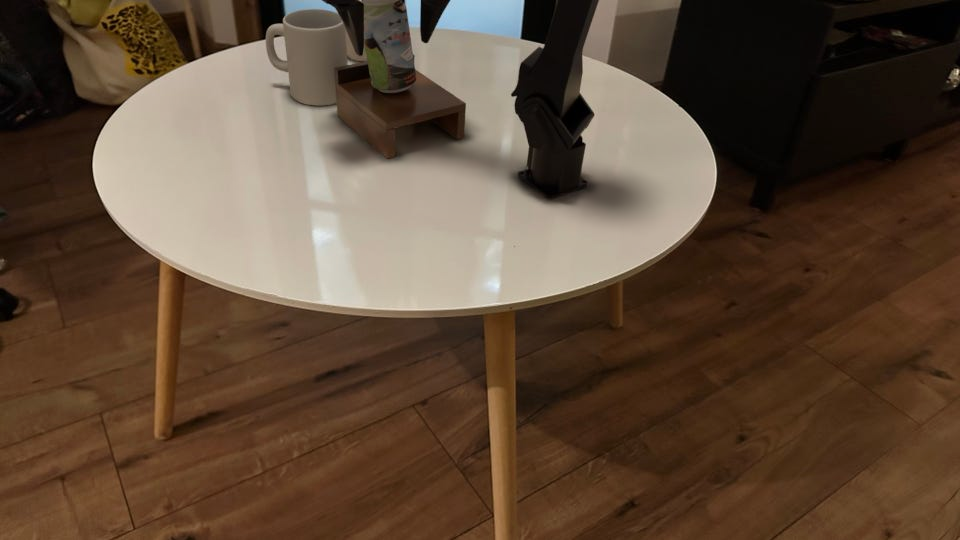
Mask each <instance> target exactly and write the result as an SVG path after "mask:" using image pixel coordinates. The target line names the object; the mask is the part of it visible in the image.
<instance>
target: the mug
mask: <svg viewBox="0 0 960 540" xmlns="http://www.w3.org/2000/svg"><path fill="white" fill-rule="evenodd" d="M275 36H282V37H283V38H284V43H285V44H284V45H285V46H284V47H285V53H286V60H283V59H282V58H280V57H279V56H278V54H277V52H276V48H275ZM265 48H266V54H267V57H268V60H269V62H270V64H271V65H272V66H273V67H274V68H275V69H276V70H279V71H281V72H285V73H288V81H289V91H290V95H291V97H292V98H293V100H294V101H296V102H298V103H301V104H303V105H308V106H331V105H335V104H337V102H336V87H335V74H334V68H336V67H341V66H346V65H349V61H348V55H347V44H346V28H345V26H344V24H343V21H342V19H341V17H340V16H339V14H338V12H337V11H334V10H329V9H324V8H323V9H320V8H308V9H307V8H306V9H299V10H295V11H291V12H289V13H287V14H286V15H284V17H283V18H282V23H274V24H271V25H270V26H269V27H268V28H267V30H266V33H265Z"/></svg>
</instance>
